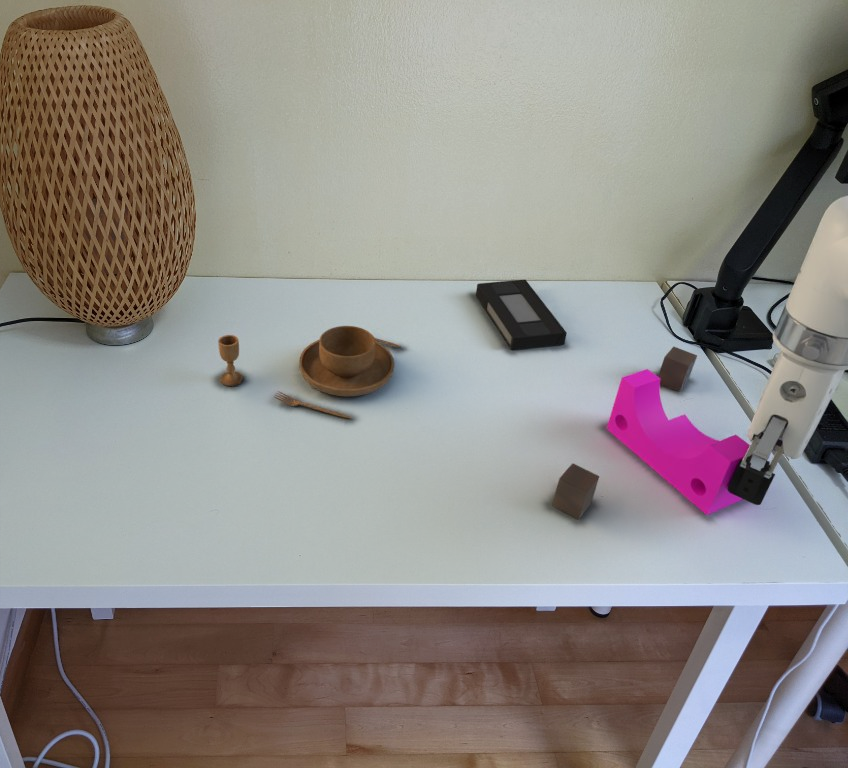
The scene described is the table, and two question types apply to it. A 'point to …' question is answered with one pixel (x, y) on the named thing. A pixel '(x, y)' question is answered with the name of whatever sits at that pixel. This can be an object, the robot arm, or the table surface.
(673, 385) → the brown cubes
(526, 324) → the vhs tape
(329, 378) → the place setting
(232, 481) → the table surface
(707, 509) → the toy block
